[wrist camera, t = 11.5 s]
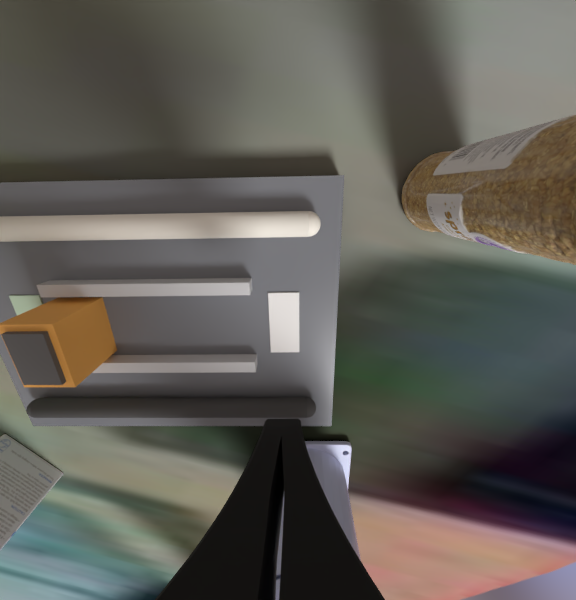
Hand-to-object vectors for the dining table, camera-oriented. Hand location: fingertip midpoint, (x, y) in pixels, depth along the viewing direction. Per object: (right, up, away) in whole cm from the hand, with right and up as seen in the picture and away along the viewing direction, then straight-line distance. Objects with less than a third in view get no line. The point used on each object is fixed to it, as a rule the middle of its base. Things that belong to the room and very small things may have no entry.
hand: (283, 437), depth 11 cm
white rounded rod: (-9, +10, +5) cm, 14 cm away
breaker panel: (-9, +4, +9) cm, 13 cm away
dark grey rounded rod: (-8, -2, +10) cm, 13 cm away
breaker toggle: (-13, +4, +8) cm, 16 cm away
